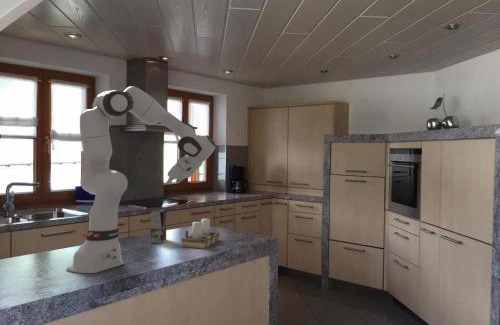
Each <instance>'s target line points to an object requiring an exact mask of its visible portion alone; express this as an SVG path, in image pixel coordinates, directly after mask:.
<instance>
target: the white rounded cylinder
mask: <svg viewBox="0 0 500 325" xmlns="http://www.w3.org/2000/svg"><path fill="white" fill-rule="evenodd" d="M191 227H192V229H191V234H192V239H200V240H202V222H201V221H192V226H191Z"/></svg>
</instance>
